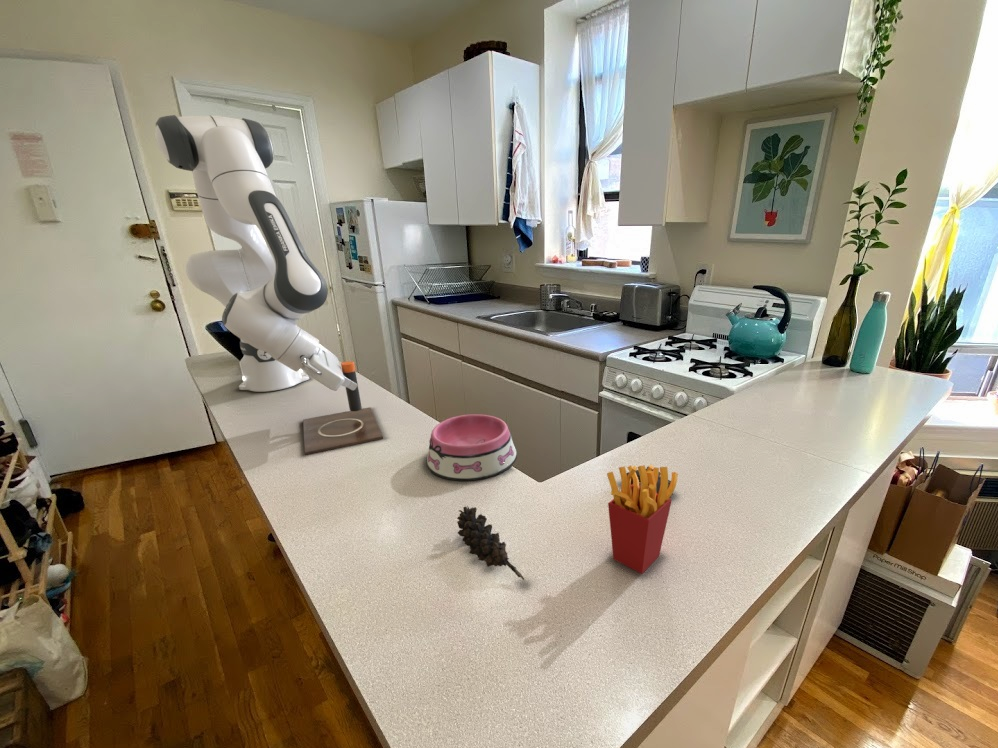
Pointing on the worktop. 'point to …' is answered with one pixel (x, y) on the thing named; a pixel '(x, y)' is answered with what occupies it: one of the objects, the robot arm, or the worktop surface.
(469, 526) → the pine cone
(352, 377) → the marker
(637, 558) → the french fries
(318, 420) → the drawing board
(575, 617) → the worktop surface
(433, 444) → the dog bowl
